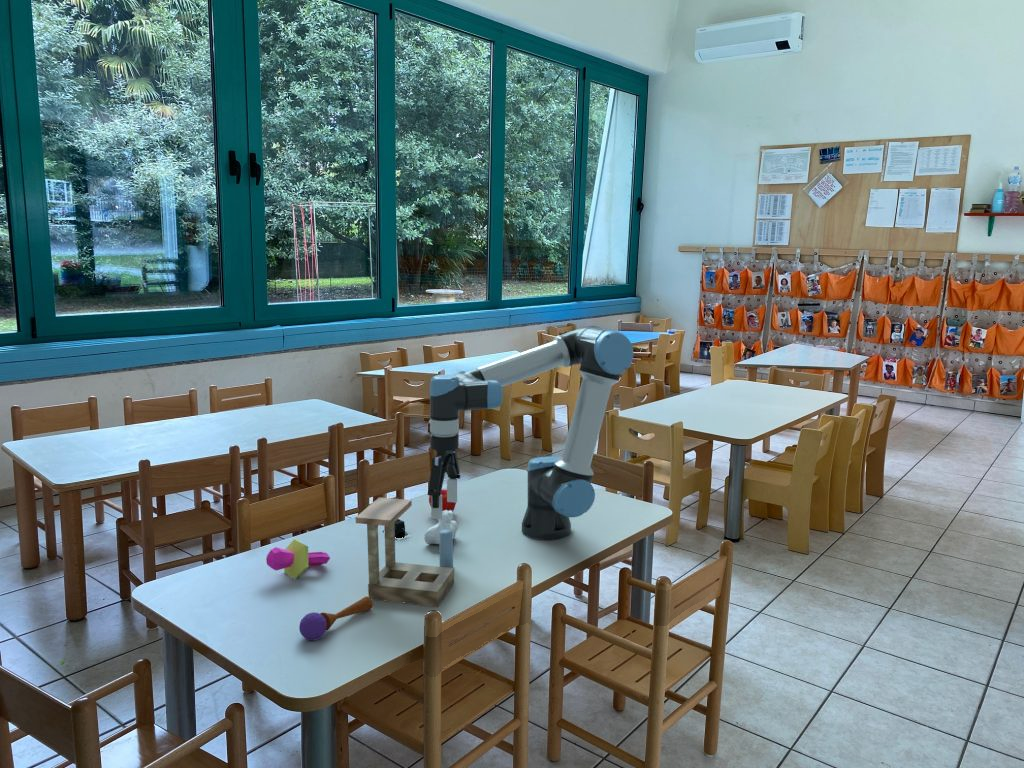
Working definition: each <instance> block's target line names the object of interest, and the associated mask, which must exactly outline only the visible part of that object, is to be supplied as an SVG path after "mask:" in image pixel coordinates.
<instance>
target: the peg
mask: <svg viewBox="0 0 1024 768" xmlns="http://www.w3.org/2000/svg"><path fill="white" fill-rule="evenodd" d="M453 540H454V539H453V534H452V531H451V530H441V531H440V532H439V544H438V545H439V567H448V568H454V560H453V559H454V558H453V557H454V556H453V555H454V554H453V553H454V549H453Z"/></svg>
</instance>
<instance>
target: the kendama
mask: <svg viewBox="0 0 1024 768" xmlns="http://www.w3.org/2000/svg"><path fill="white" fill-rule="evenodd" d="M373 606H374V605H373V600H371V599H370V598H369V596H364V597H363V598H361V599H359V600H357V601H356V602H354V603H352V604H350V605H349V606H347V607H345V608H343V609H341V610H340V611H339V612H337V613H335V614H334V613H330V612H325V611H324V612H323V611H322V612H320V613H319V612H310V613H307V614H305V615H304V616H303V617H302V618H301V620H300V622H299V629H298V630H299V633H300V635H301V636H302V637H303V638H304V639H305V640H308V641H315V640H316V641H317V640H319V639H321V638H322V637H323V636H324V635H325V633H327V632H326V631H329V630H330V628H331V627H332V626H333V625H334V624H335V623H336V621H337V620H338V619H342V618H346V617H349V616H352V615H357V614H359V613H364V612H368V611H370V609H371V610H372V609H373ZM367 610H368V611H367Z"/></svg>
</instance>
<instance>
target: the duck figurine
mask: <svg viewBox="0 0 1024 768" xmlns="http://www.w3.org/2000/svg"><path fill="white" fill-rule="evenodd" d="M453 519H454V511H453V512H452V510H450V511H447V510H445V511H442V519H441V520H440V519H437V520H438V522H437V523H436V524H435V525H433V526H431V527H429V528H428V529H427V530H426V532H425V534H424V537H423V539H424V542H425V544H427V545H434V544H435V545H439V532H440V531H441V530H451V531H452V534H453V540H454V539H455V538H456V534H457V531H458V529H459V524H458V523H457V521H456V520H453Z"/></svg>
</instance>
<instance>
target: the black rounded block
mask: <svg viewBox="0 0 1024 768" xmlns="http://www.w3.org/2000/svg"><path fill="white" fill-rule="evenodd" d="M394 526H395V537H396V538H402V537H403V538H404V537H405V536H407V535H408V534H407V533H408V532H407V533H405V532H406V525H405V521H404V520H401V519H400V518H398V519H397V520H396V521H395V522H394Z"/></svg>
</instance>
